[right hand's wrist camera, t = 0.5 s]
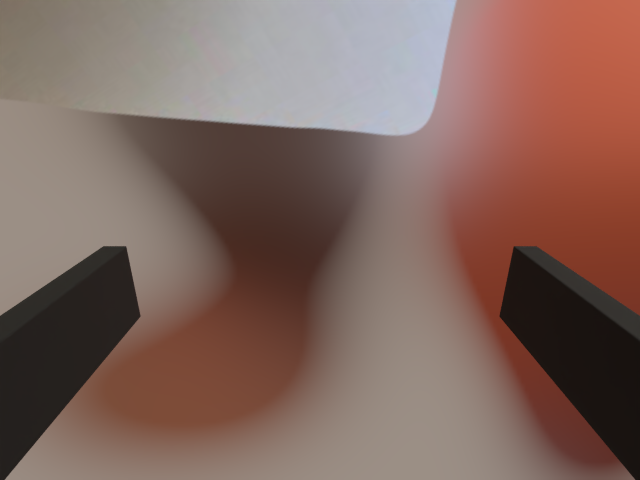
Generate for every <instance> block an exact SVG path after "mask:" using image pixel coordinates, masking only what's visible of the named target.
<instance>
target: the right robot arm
mask: <svg viewBox="0 0 640 480" xmlns="http://www.w3.org/2000/svg"><path fill="white" fill-rule="evenodd" d="M139 318H140V312H139V307H138V302H137V297H136V292H135V287H134V282H133V277H132V273H131V268H130V263H129V258H128V253H127V248H126V246H104V247H102V248H100V249H99V250H98V251H96V252H94V253H93V254H91V255H90V256H89V257H87V258H86V259H84V260H83V261H81V262H80V263H78V264H77V265H75V266H74V267H72V268H71V269H69V270H68V271H66V272H65V273H63V274H62V275H60V276H59V277H57V278H56V279H54V280H53V281H51V282H50V283H48V284H47V285H45V286H44V287H42V288H41V289H39V290H38V291H36V292H35V293H34V294H32V295H31V296H29V297H28V298H26V299H25V300H23V301H22V302H20V303H19V304H17V305H16V306H14V307H13V308H11V309H10V310H8V311H7V312H5V313H4V314H2V315H1V316H0V480H5V479H6V477H7V476H8V475H9V474H10V472H11V471H12V470H13V469H14V468H15V466H16V465H17V464H18V463H19V462H20V460H21V459H22V458H23V457H24V456H25V454H26V453H27V452H28V451H29V450H30V448H31V447H32V446H33V445H34V444H35V442H36V441H37V440H38V439H39V438H40V436H41V435H42V434H43V433H44V432H45V430H46V429H47V428H48V427H49V426H50V424H51V423H52V422H53V421H54V420H55V418H56V417H57V416H58V415H59V414H60V412H61V411H62V410H63V409H64V408H65V406H66V405H67V404H68V403H69V402H70V400H71V399H72V398H73V397H74V396H75V394H76V393H77V392H78V391H79V390H80V388H81V387H82V386H83V385H84V384H85V382H86V381H87V380H88V379H89V378H90V376H91V375H92V374H93V373H94V372H95V370H96V369H97V368H98V367H99V366H100V364H101V363H102V362H103V361H104V360H105V358H106V357H107V356H108V355H109V354H110V352H111V351H112V350H113V349H114V348H115V346H116V345H117V344H118V343H119V341H120V340H121V339H122V338H123V337H124V336H125V334H126V333H127V332H128V331H129V330H130V328H131V327H132V326H133V325H134V324H135V322H136V321H137V320H138V319H139ZM500 318H501V319H502V320H503V321H504V322H505V324H506V325H507V326H508V327H509V328H510V330H511V331H512V332H513V333H514V334H515V336H516V337H517V338H518V339H519V340H520V341H521V343H522V344H523V345H524V346H525V348H526V349H527V350H528V351H529V352H530V354H531V355H532V356H533V357H534V358H535V360H536V361H537V362H538V363H539V364H540V366H541V367H542V368H543V369H544V370H545V372H546V373H547V374H548V375H549V376H550V378H551V379H552V380H553V381H554V382H555V384H556V385H557V386H558V387H559V388H560V390H561V391H562V392H563V393H564V394H565V396H566V397H567V398H568V399H569V400H570V402H571V403H572V404H573V405H574V406H575V408H576V409H577V410H578V411H579V412H580V414H581V415H582V416H583V417H584V418H585V420H586V421H587V422H588V423H589V424H590V426H591V427H592V428H593V429H594V430H595V432H596V433H597V434H598V435H599V436H600V438H601V439H602V440H603V441H604V442H605V444H606V445H607V446H608V447H609V448H610V450H611V451H612V452H613V453H614V454H615V456H616V457H617V458H618V459H619V460H620V462H621V463H622V464H623V465H624V466H625V468H626V469H627V470H628V471H629V473H630V474H631V475H632V476H633V477H634V478H635V480H640V316H639V315H638V314H636V313H635V312H633V311H632V310H630V309H629V308H627V307H626V306H624V305H623V304H621V303H620V302H618V301H617V300H615V299H614V298H612V297H611V296H609V295H608V294H606V293H605V292H603V291H602V290H601V289H599V288H598V287H596V286H595V285H593V284H592V283H590V282H589V281H587V280H586V279H584V278H583V277H581V276H580V275H578V274H577V273H575V272H574V271H572V270H571V269H569V268H568V267H566V266H565V265H563V264H562V263H560V262H559V261H557V260H556V259H554V258H553V257H551V256H550V255H549V254H547V253H546V252H544V251H542V250H541V249H540V248H538V247H536V246H514V248H513V253H512V258H511V263H510V268H509V273H508V278H507V282H506V287H505V292H504V297H503V302H502V307H501V312H500Z"/></svg>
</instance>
